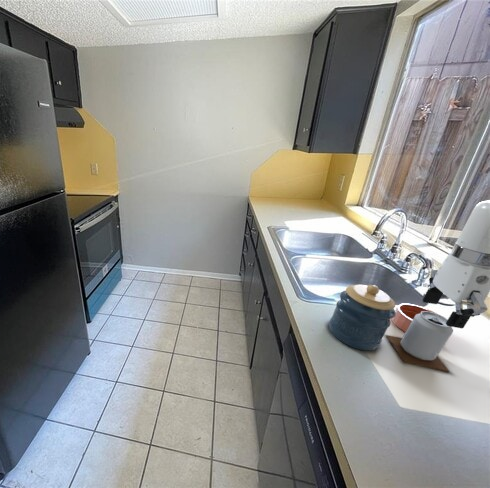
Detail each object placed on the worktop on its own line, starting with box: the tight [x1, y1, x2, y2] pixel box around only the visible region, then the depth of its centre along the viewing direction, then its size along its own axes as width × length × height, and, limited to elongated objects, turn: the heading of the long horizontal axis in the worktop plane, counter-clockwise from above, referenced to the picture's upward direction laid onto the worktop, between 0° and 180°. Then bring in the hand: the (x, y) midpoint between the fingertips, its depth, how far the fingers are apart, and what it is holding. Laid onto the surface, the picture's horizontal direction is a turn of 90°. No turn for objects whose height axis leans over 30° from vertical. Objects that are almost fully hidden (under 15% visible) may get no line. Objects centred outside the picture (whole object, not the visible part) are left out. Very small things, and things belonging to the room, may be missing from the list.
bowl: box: [391, 303, 438, 333], centre depth 81 cm, size 12×12×5 cm
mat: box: [386, 334, 450, 373], centre depth 72 cm, size 10×10×1 cm
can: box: [400, 311, 454, 360], centre depth 70 cm, size 8×8×12 cm
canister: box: [328, 284, 396, 351], centre depth 74 cm, size 13×13×18 cm
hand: (440, 313), depth 67 cm, fingers open, 9 cm apart
